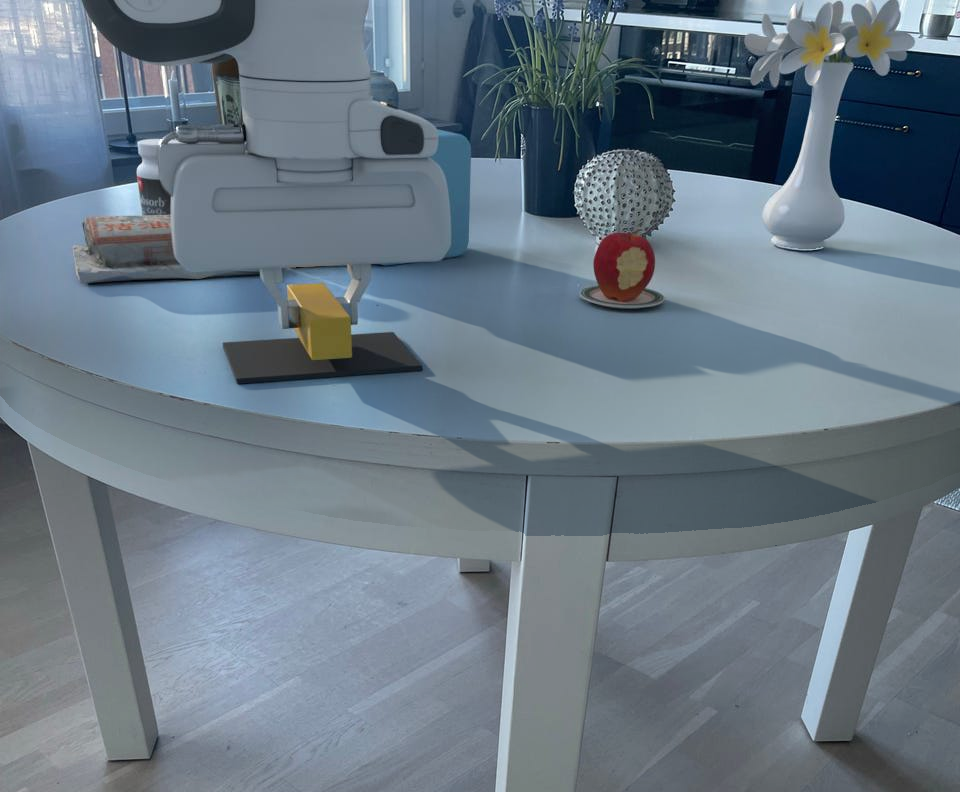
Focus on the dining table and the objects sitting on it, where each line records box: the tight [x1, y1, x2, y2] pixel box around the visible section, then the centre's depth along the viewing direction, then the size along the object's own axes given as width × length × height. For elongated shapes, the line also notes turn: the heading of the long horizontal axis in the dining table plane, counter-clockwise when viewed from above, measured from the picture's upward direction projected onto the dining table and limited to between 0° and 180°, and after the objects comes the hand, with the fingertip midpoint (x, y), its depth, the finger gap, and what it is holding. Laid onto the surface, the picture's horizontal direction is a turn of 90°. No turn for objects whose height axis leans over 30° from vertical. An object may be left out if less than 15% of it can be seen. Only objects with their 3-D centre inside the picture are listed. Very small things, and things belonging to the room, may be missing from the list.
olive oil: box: [211, 58, 246, 150], centre depth 123 cm, size 11×11×25 cm
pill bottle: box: [136, 138, 181, 216], centre depth 109 cm, size 6×6×10 cm
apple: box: [579, 228, 665, 310], centre depth 95 cm, size 8×8×6 cm
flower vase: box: [743, 0, 916, 249], centre depth 113 cm, size 13×18×25 cm
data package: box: [379, 128, 472, 267], centre depth 106 cm, size 12×4×12 cm, turn 125°
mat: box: [222, 331, 423, 385], centre depth 79 cm, size 14×9×1 cm, turn 108°
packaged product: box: [72, 215, 260, 284], centre depth 100 cm, size 18×5×10 cm
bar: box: [286, 282, 352, 360], centre depth 78 cm, size 3×10×3 cm, turn 18°
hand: (319, 325), depth 78 cm, fingers closed on bar, 3 cm apart
